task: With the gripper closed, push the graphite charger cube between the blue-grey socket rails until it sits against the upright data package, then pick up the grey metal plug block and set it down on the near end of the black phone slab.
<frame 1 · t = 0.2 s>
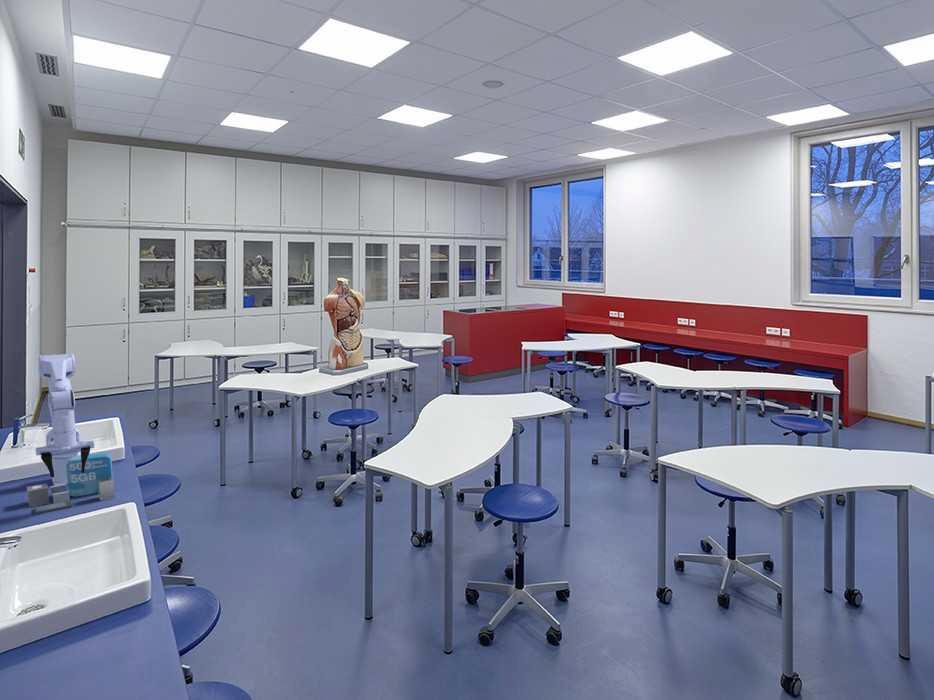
hand: (68, 474, 180), 10 cm above the table, tool pointing down, fingers open, 7 cm apart
socket rails: (60, 498, 187), on the table
metal plug: (106, 497, 187), on the table
data package: (91, 492, 192), on the table
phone: (53, 510, 179), on the table
charger cube: (38, 502, 183), on the table
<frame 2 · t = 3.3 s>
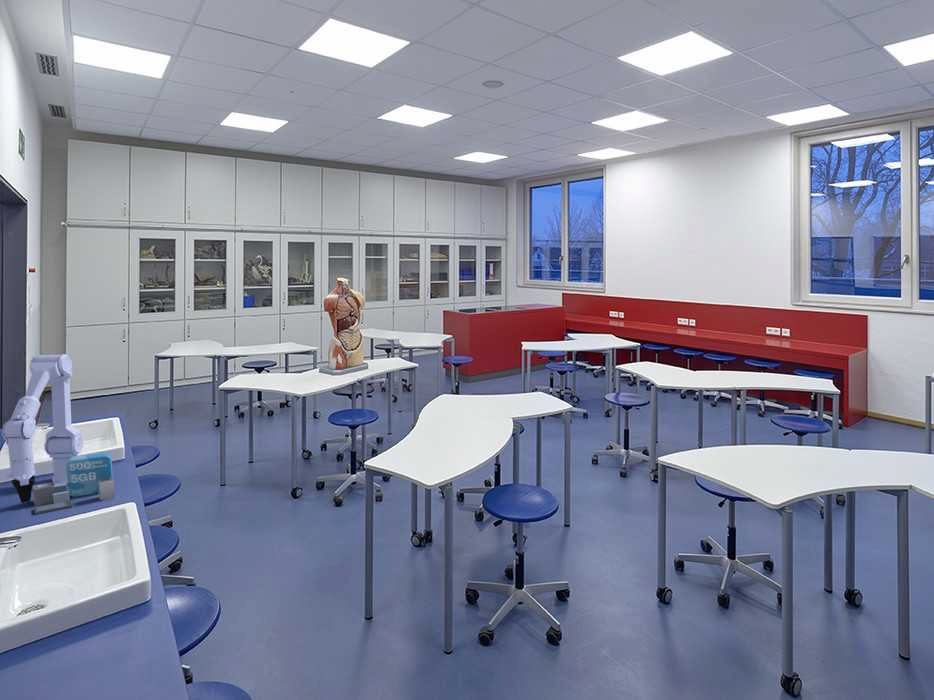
hand: (25, 501, 181), 1 cm above the table, tool pointing down, fingers closed, pressing on charger cube
charger cube: (44, 501, 184), on the table, touching gripper
everything else where it was.
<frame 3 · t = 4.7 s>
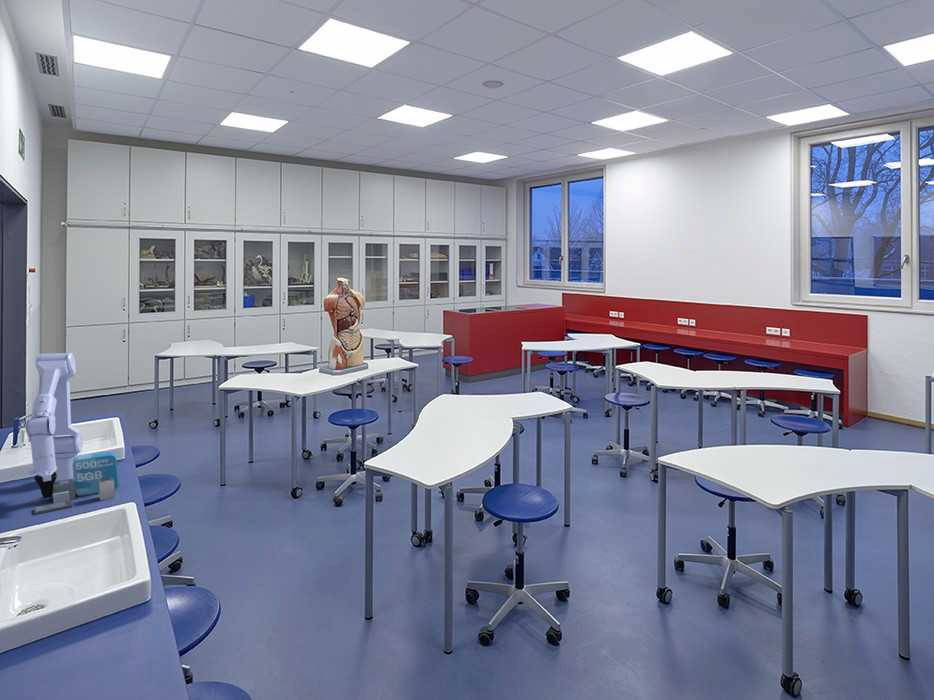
hand: (47, 497, 185), 1 cm above the table, tool pointing down, fingers closed, pressing on charger cube
data package: (97, 491, 193), on the table, touching charger cube
charger cube: (65, 497, 187), on the table, touching data package, gripper
everything else where it was.
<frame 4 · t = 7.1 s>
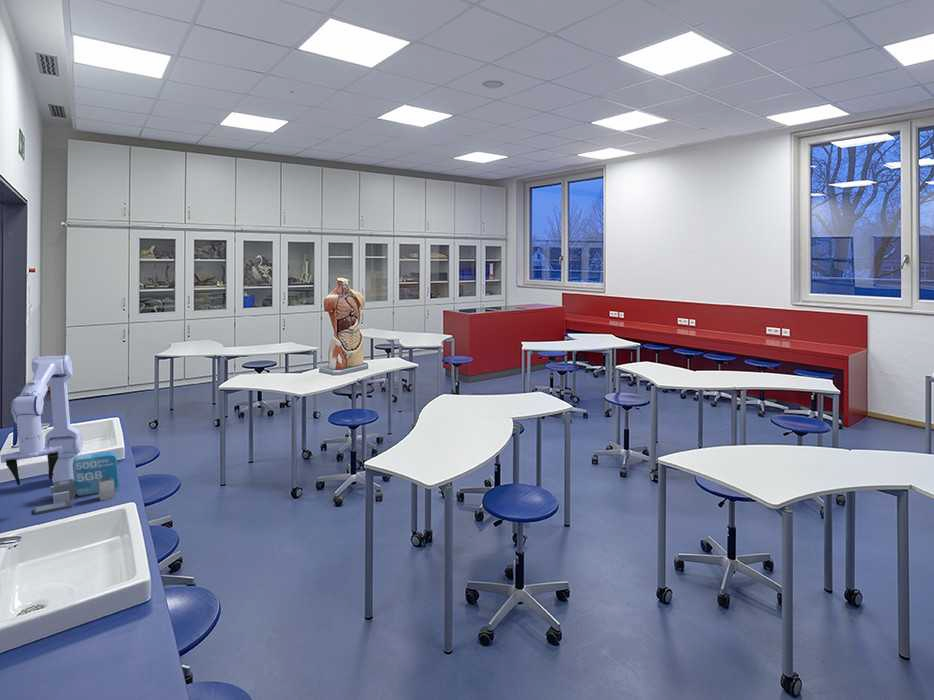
hand: (34, 481, 175), 9 cm above the table, tool pointing down, fingers open, 7 cm apart
data package: (97, 491, 193), on the table
charger cube: (65, 497, 187), on the table
everything else where it was.
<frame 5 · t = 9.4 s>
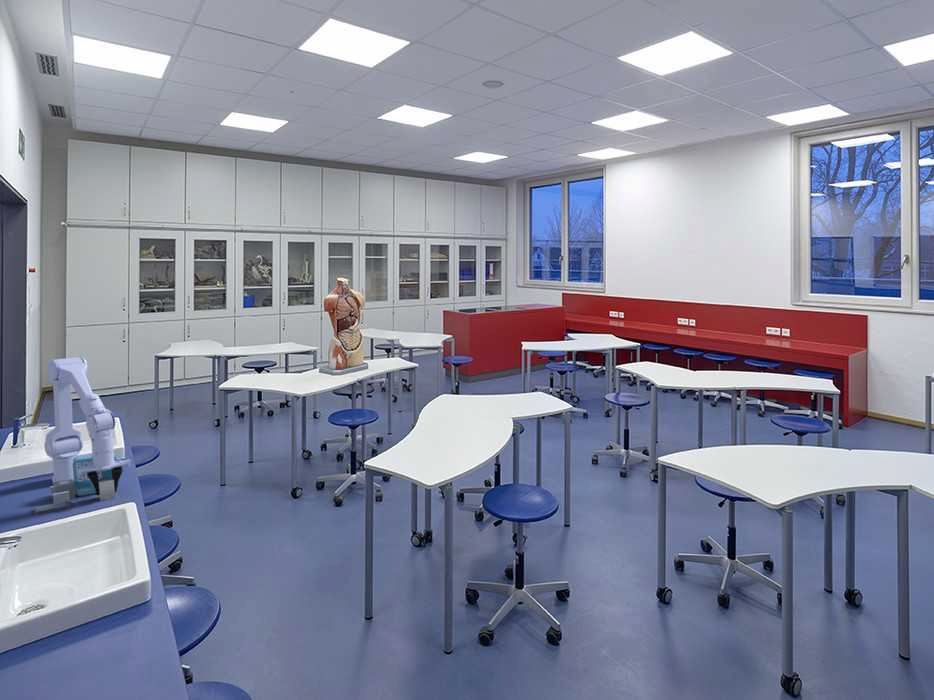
hand: (106, 492, 187), 2 cm above the table, tool pointing down, fingers closed on metal plug, 4 cm apart
metal plug: (106, 497, 187), on the table, touching gripper
everything else where it was.
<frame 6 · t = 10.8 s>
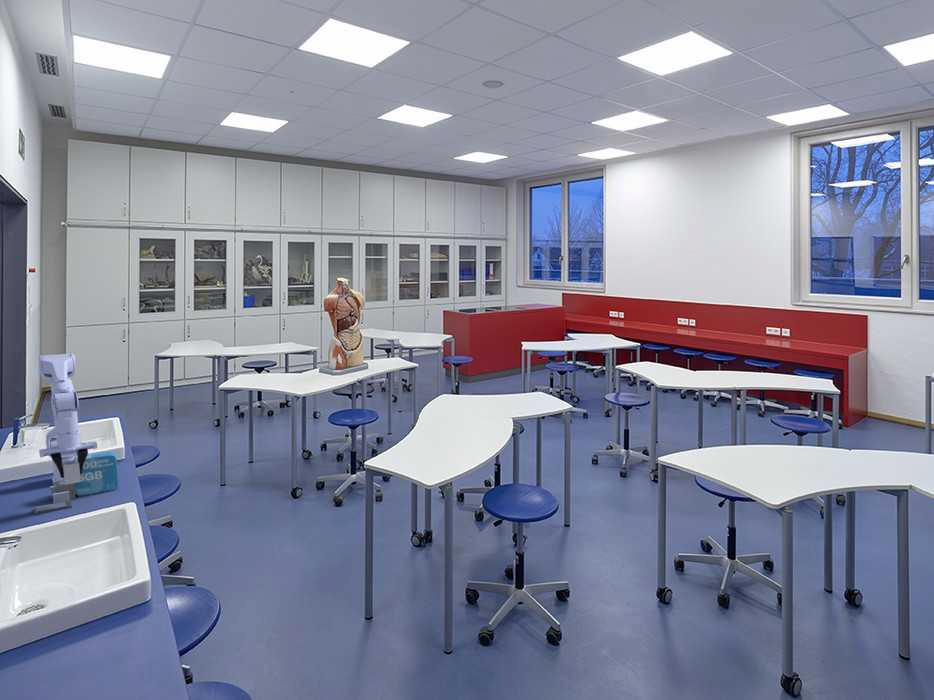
hand: (71, 475, 181), 9 cm above the table, tool pointing down, fingers closed on metal plug, 4 cm apart
metal plug: (72, 481, 181), point 7 cm above the table, touching gripper
everything else where it was.
when the fingers open (4 cm above the table, at t = 12.4 s): metal plug drops 1 cm, point 1 cm above the table.
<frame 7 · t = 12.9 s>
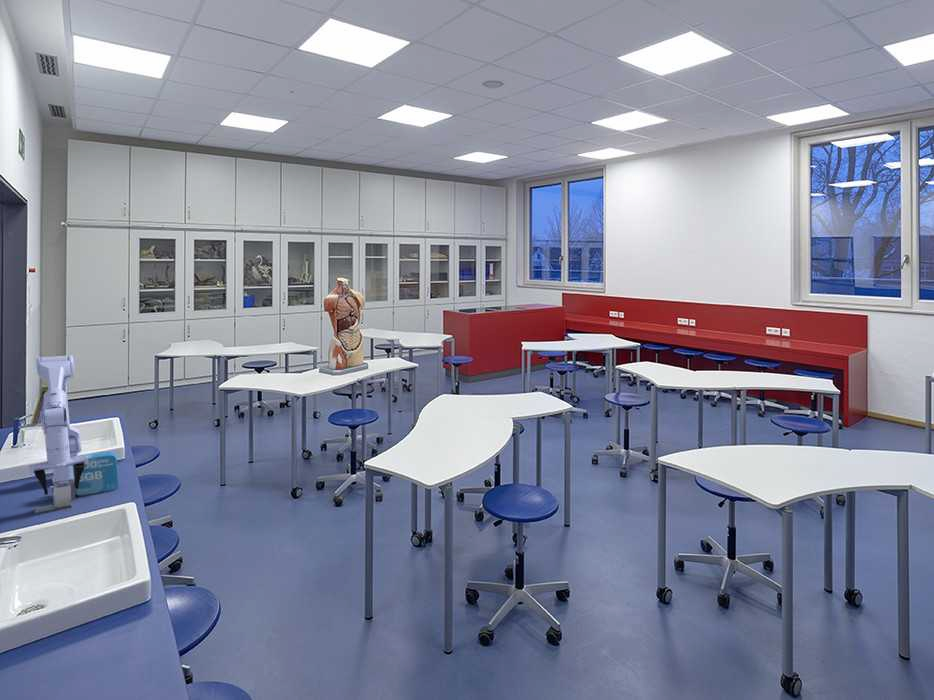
hand: (61, 490, 180), 5 cm above the table, tool pointing down, fingers open, 7 cm apart
metal plug: (62, 504, 180), point 1 cm above the table
everything else where it was.
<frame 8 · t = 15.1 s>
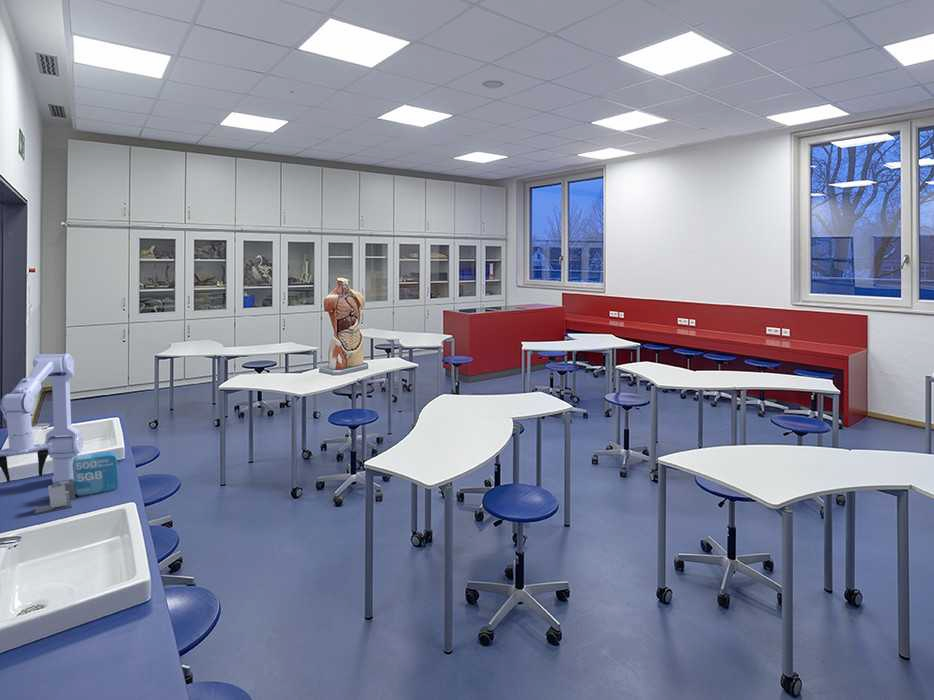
hand: (24, 478, 176), 10 cm above the table, tool pointing down, fingers open, 7 cm apart
metal plug: (58, 505, 179), point 1 cm above the table, touching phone
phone: (53, 510, 179), on the table, touching metal plug
everything else where it was.
at the end: charger cube 1.6 cm from the target spot, on the table; metal plug 1.0 cm from the target spot on the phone, point 1.5 cm above the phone's base; metal plug tilted 4° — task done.
